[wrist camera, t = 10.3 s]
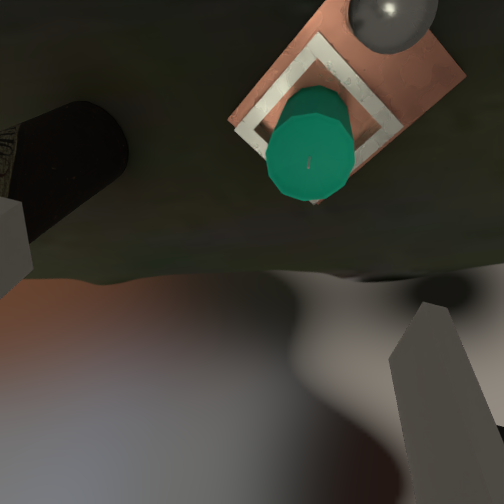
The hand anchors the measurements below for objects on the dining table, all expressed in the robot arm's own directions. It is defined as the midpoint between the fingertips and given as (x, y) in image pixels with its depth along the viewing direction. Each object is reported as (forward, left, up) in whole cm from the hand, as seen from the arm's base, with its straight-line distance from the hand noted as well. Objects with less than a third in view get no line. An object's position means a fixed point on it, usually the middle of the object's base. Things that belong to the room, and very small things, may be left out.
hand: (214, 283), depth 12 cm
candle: (+2, +1, -26) cm, 26 cm away
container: (-12, -17, -27) cm, 34 cm away
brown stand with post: (+3, +4, -27) cm, 27 cm away
